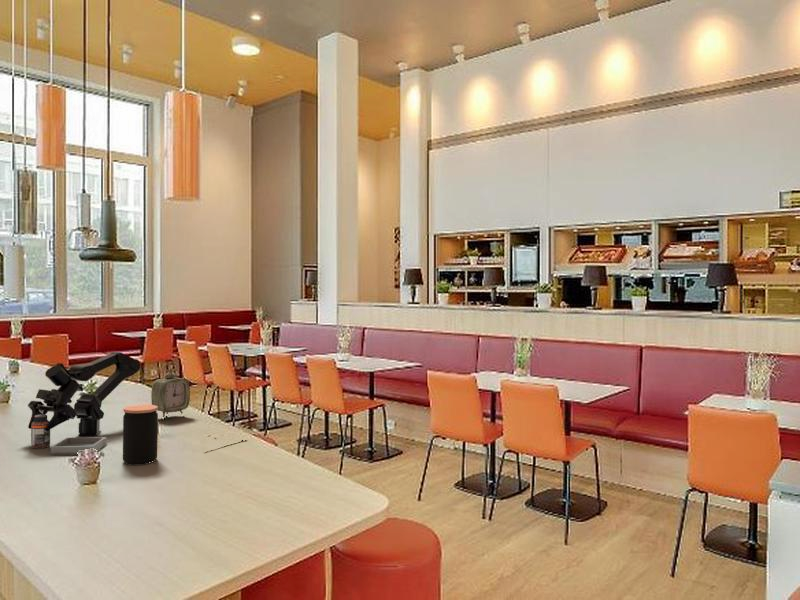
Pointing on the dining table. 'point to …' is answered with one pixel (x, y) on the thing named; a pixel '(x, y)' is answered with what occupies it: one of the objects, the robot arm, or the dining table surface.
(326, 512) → the dining table surface
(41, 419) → the supplement bottle
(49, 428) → the robot arm
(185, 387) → the tabletop clock
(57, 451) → the tray
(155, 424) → the coffee jar
